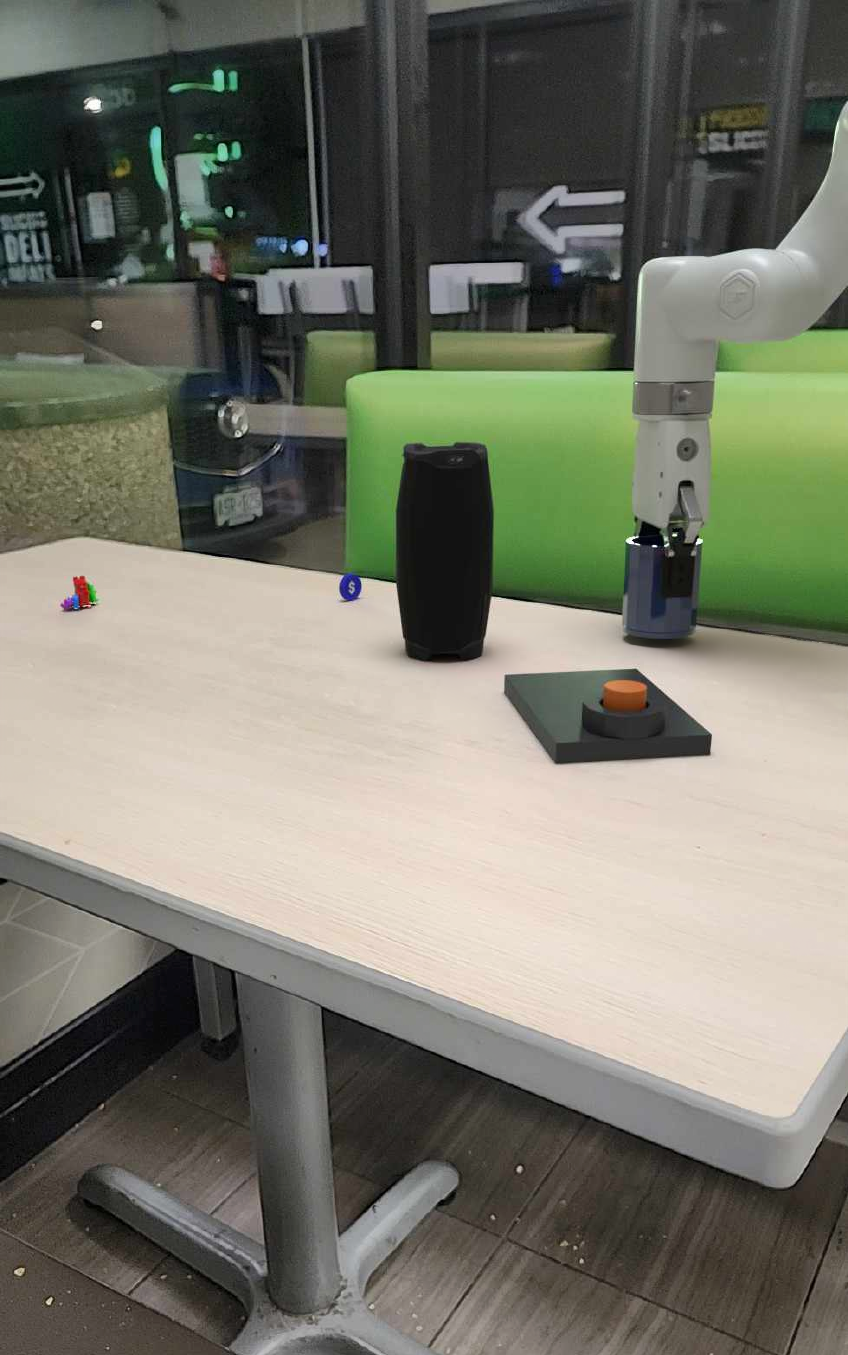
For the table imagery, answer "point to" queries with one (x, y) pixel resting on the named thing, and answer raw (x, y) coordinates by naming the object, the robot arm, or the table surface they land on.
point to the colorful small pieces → (80, 594)
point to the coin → (350, 586)
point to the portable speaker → (444, 549)
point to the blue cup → (655, 593)
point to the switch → (625, 695)
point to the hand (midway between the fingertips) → (661, 587)
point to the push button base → (602, 718)
